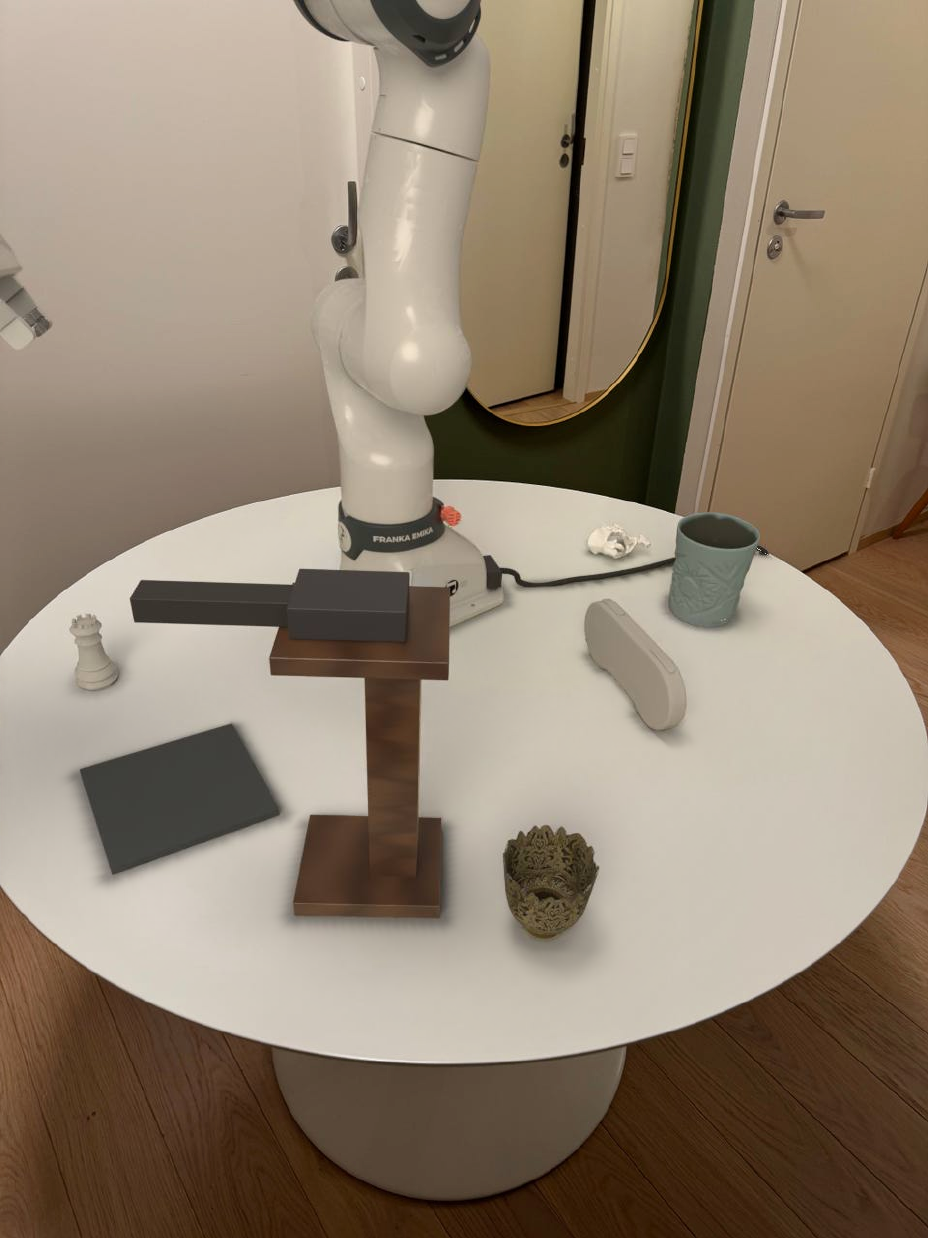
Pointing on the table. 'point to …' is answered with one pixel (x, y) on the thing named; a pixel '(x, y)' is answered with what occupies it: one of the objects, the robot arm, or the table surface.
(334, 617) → the block with square shaft
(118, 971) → the table surface
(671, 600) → the teal embossed pot
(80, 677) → the rook chess piece
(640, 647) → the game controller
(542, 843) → the cup
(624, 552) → the pelvis model
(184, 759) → the mat
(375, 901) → the stand
